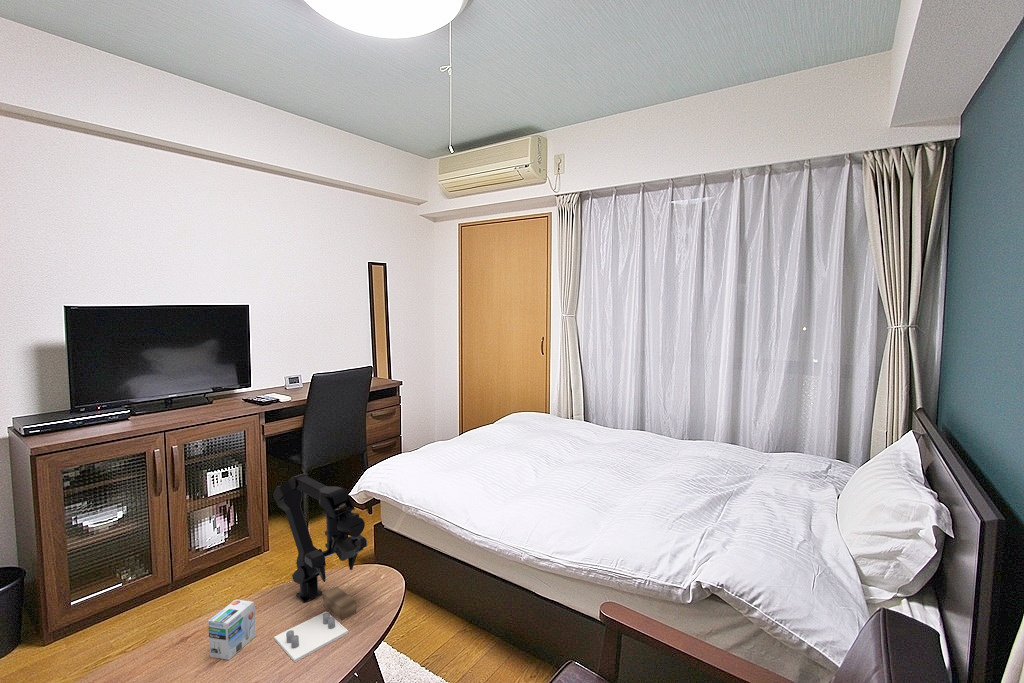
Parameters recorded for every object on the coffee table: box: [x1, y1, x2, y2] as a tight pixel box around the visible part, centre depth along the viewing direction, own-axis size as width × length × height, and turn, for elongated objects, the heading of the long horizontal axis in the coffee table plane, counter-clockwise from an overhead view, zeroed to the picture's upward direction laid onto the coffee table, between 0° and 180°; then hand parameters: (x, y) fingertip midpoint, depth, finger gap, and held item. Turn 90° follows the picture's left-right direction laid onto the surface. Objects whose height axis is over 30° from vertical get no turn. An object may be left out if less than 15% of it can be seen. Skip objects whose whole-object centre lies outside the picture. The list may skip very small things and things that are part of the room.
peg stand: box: [273, 611, 349, 663], centre depth 144 cm, size 14×16×3 cm
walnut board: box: [322, 586, 357, 622], centre depth 156 cm, size 12×5×4 cm, turn 48°
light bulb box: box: [207, 598, 257, 661], centre depth 140 cm, size 11×7×11 cm, turn 168°
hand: (337, 575), depth 156 cm, fingers open, 9 cm apart
